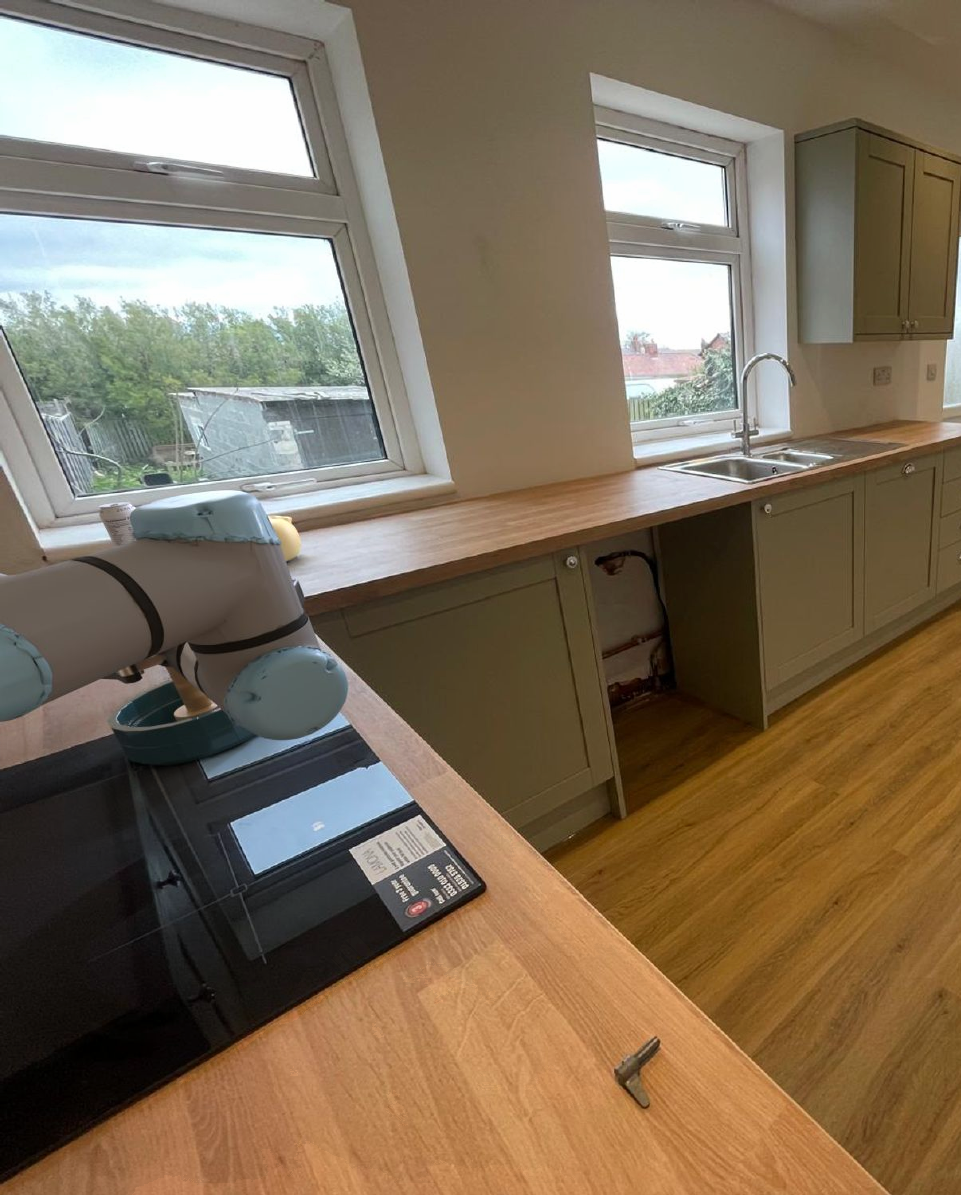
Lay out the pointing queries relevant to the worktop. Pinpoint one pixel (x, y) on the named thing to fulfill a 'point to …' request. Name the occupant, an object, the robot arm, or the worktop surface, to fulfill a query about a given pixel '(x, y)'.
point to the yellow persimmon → (286, 536)
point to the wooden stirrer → (189, 698)
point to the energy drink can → (118, 521)
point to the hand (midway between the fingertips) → (166, 607)
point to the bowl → (171, 729)
